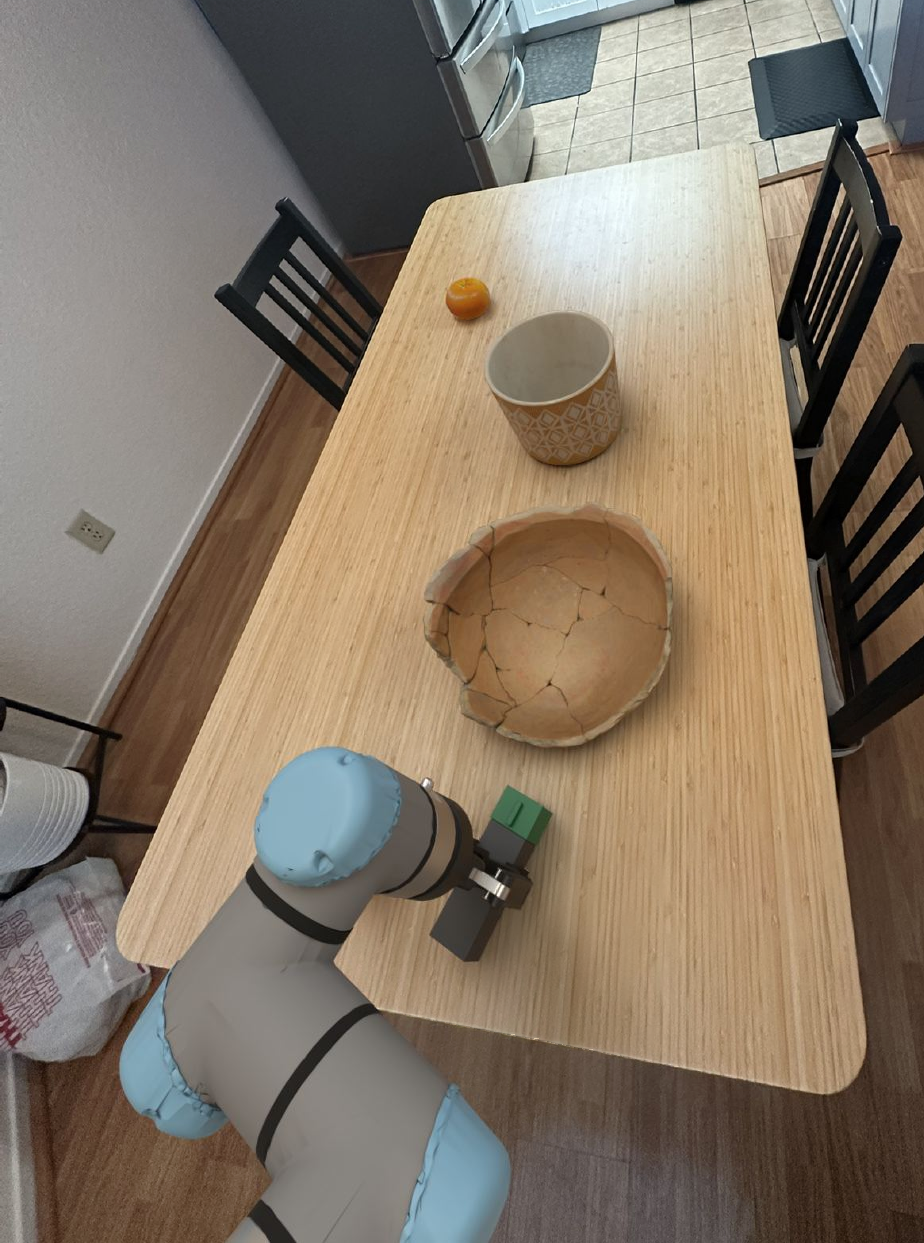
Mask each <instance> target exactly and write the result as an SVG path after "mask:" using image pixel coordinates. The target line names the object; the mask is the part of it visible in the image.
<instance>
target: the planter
mask: <svg viewBox="0 0 924 1243" xmlns="http://www.w3.org/2000/svg"><path fill="white" fill-rule="evenodd" d="M618 375H619V374H618V366H617V358H616V350H615V341H614V337H613V334H612V332H611V330H610V329H609V327H608V326H607V325H606V324H605V323H604V322H603V321H602V320H601V319H599V318H597V317H596V316H595V315H592V314H590V313H588V312H583V311H579V310H574V309H554V310H547V311H543V312H539V313H536V314H535V313H534V314H532V315H530V316H528V317H525V318H523V319H521V320H518V321H517V322H516V323H514V324H512V325H511V326H509V327H507V329H506V330H504V331H503V332H502V333H500V335H499V336H498V337H497V338H496V339H495V340H494V342H492V344H491V346H490V347H489V349H488V351H487V353H486V355H485V359H484V362H483V376H484V380H485V382H486V384H487V386H488V388H489V390H490V392H491V394H492V395H493V397H494V398H495V400H496V402H497V404H498V405H499V407H500V409H501V411H502V413H503V414H504V416H505V419H507V421H508V423H509V425H510V427H511V428H512V430H513V432H514V434H515V435H516V437H517V438H518V441H519V443H520V444H521V446H522V447H523V449H524V450H525V451H526V453H528V454H529V455H530V456H531V457H532V458H534V459H536V460H538V461H540V462H543V463H545V464H549V465H553V466H554V465H555V466H571V465H572V466H573V465H576V464H580V463H583V462H586V461H589V460H591V459H593V458H595V457H597V456H598V455H600V454H601V453H603V452H604V451H605V450H606V449H608V447H610V445H611V444H612V443H613V441H614V440H615V439H616V437H617V435H618V433H619V432H620V429H621V425H622V421H623V412H622V411H623V410H622V402H621V394H620V393H621V392H620V385H619V376H618Z"/></svg>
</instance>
